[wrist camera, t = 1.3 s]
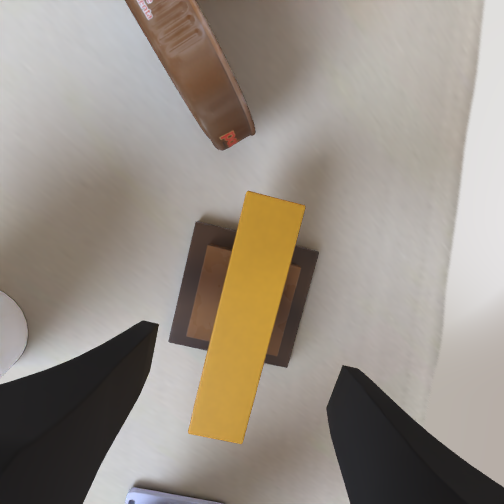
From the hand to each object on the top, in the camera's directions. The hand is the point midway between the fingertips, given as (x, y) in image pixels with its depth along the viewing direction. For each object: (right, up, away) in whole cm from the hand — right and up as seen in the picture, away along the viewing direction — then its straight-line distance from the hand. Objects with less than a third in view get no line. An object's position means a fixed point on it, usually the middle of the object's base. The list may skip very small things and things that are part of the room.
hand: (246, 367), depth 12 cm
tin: (-5, +18, +9) cm, 20 cm away
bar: (0, +1, +8) cm, 8 cm away
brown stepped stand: (0, +1, +11) cm, 11 cm away
